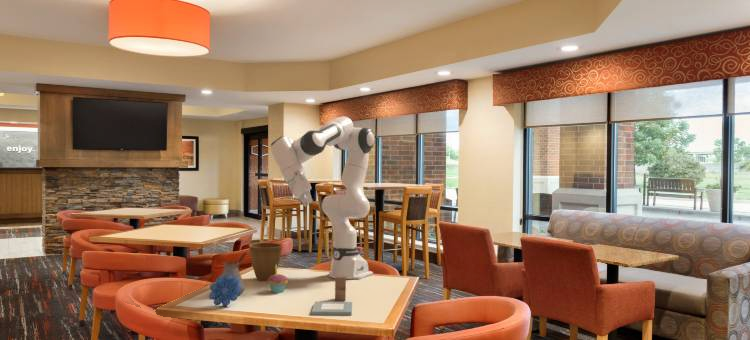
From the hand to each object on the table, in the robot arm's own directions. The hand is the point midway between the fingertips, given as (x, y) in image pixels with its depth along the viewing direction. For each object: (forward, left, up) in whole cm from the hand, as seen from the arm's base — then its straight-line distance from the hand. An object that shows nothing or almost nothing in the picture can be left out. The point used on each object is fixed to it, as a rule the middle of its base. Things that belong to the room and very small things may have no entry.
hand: (308, 204), depth 222 cm
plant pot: (-7, -35, -37) cm, 51 cm away
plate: (+11, +24, -37) cm, 46 cm away
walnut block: (-2, +16, -37) cm, 40 cm away
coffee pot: (+17, -25, -37) cm, 48 cm away
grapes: (+33, -10, -37) cm, 51 cm away
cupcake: (+5, -13, -37) cm, 39 cm away
